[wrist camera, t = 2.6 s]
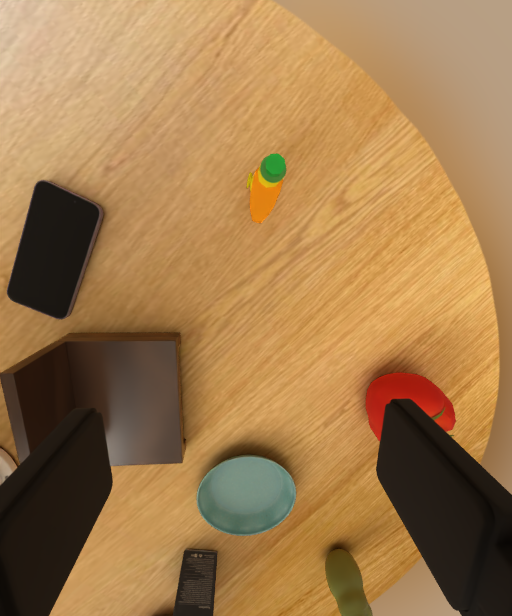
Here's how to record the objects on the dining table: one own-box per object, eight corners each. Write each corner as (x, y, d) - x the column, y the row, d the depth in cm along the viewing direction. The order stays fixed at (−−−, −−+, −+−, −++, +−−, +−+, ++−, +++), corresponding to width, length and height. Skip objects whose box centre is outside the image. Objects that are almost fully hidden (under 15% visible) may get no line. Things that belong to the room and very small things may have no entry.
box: (183, 548, 46) (168, 637, 36) (217, 550, 46) (213, 638, 36) (178, 582, 48) (163, 677, 37) (211, 584, 48) (205, 677, 38)
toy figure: (264, 230, 34) (280, 226, 22) (236, 221, 34) (237, 212, 22) (281, 173, 33) (306, 137, 21) (252, 163, 32) (261, 121, 21)
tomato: (386, 348, 39) (427, 378, 31) (437, 387, 42) (488, 425, 33) (338, 402, 41) (364, 444, 33) (389, 437, 43) (426, 485, 35)
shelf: (87, 450, 40) (34, 528, 29) (69, 332, 36) (-2, 373, 25) (186, 447, 41) (168, 520, 30) (180, 332, 37) (157, 371, 26)
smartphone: (4, 298, 33) (36, 175, 30) (11, 295, 34) (43, 177, 31) (65, 322, 34) (103, 207, 31) (70, 319, 35) (108, 208, 32)
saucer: (187, 456, 41) (184, 470, 39) (283, 433, 42) (286, 446, 39) (212, 528, 45) (210, 546, 43) (300, 507, 45) (303, 523, 43)
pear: (346, 536, 48) (374, 612, 38) (355, 557, 49) (385, 635, 39) (316, 549, 48) (337, 627, 38) (326, 568, 49) (348, 649, 40)
